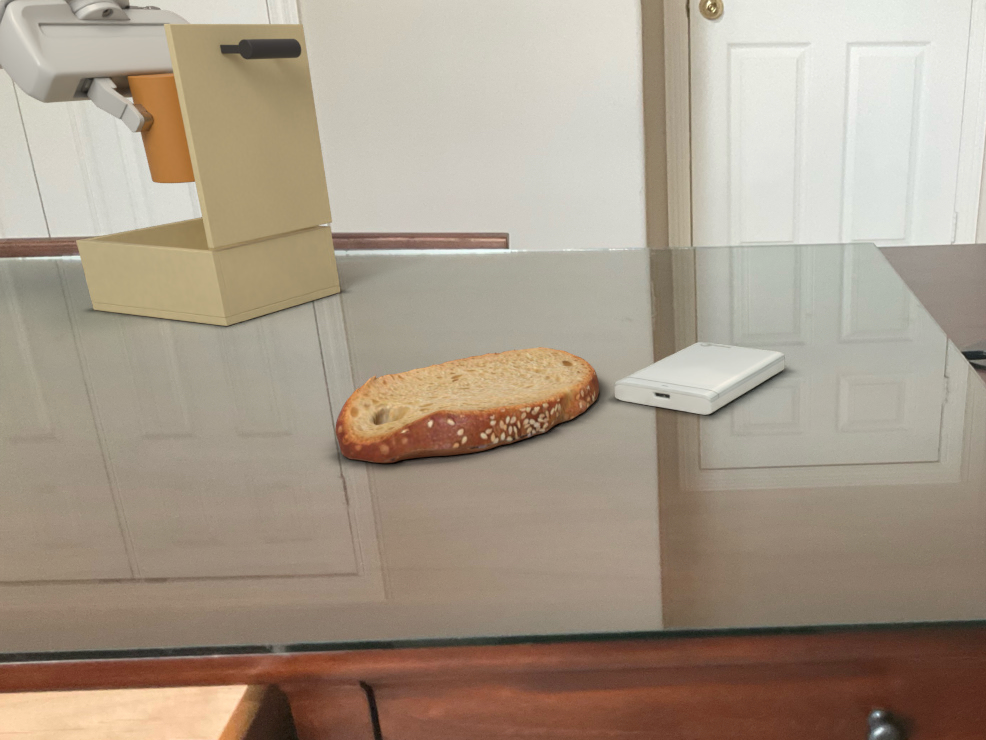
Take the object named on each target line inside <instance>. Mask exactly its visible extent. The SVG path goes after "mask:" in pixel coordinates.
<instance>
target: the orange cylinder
mask: <svg viewBox="0 0 986 740" xmlns="http://www.w3.org/2000/svg"><path fill="white" fill-rule="evenodd" d="M127 78H128V82H129V86H130V90H131V95H132V97H131V98H132V103H133V104H142V106H143V107H144V108H145V109H146V110H147V112H149V113H150V114H151V115H152V117H153V124H152V125H151V126H150V130H149V131H143V132H140V136H141V140H142V145H143V148H144V152H145V157H146V161H147V165H148V169H149V173H150V176H151V177H150V178H151V181H152V183H156V184H185V183H186V184H187V183H195V178H194V173H193V168H192V163H191V158H190V153H189V148H188V143H187V138H186V133H185V128H184V123H183V118H182V113H181V108H180V103H179V98H178V93H177V88H176V83H175V78H174V73H169V74H152V75H138V76H128V77H127Z"/></svg>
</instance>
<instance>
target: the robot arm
mask: <svg viewBox="0 0 986 740" xmlns="http://www.w3.org/2000/svg"><path fill="white" fill-rule="evenodd" d="M164 24H191V23H190V22H189V20H187V19H186V18H184V17H182V16H181V15H180V14H178V13H176V12H174V11H171V10H166V9H161V8H160V7H158V6H155V5H146V6H138V5H131V4H130V0H0V70H4V71H5V73H6V74H7V75H8V76H9V77H10V79H11V80H12V81H13V82H14V83H15V84H16V85H17V87H18V88H20V90H21V91H22V92H23V93H25V94H26V95H27V96H29V97H31V98H33V99H35V100H36V101H39V102H41V103H44V104H51V103H64V102H80V101H91V102H92V103H93V104H94V105H95V106H96V107H97V108H98V109H100V110H102V111H104V112H106V113H107V114H109V115H111V116H113V117H114V118H116V119H118V120H120V121H122V122H123V123H124V125H126V127H127V128H128V129H129V130H130V131H131V132H132V133H141V132H143V131H149V130H150V126H151V125H152V124H153V117H152V115H151V114H150V113H149V112H147V110H146V109H145V108H144V107H143V106H142V104H134V103H133V101H130V100H129V98H132V95H131V90H130V86H129V82H128V78H127V77H128V76H138V75H152V74H169V73H173V68H172V63H171V58H170V53H169V48H168V43H167V38H166V33H165V28H164Z"/></svg>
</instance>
